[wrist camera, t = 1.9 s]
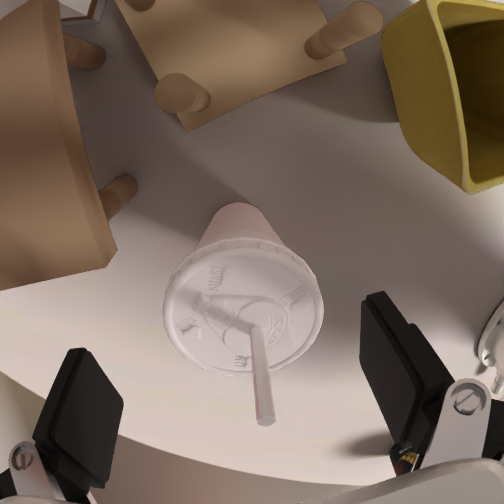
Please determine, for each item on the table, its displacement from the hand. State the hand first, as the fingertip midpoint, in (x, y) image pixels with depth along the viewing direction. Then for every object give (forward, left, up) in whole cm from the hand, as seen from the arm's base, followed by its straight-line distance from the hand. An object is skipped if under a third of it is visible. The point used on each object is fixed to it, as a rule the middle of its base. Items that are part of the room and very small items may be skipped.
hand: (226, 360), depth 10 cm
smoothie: (0, -1, -12) cm, 12 cm away
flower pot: (+8, -15, -12) cm, 20 cm away
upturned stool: (+13, -3, -12) cm, 18 cm away
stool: (+9, +10, -12) cm, 18 cm away
